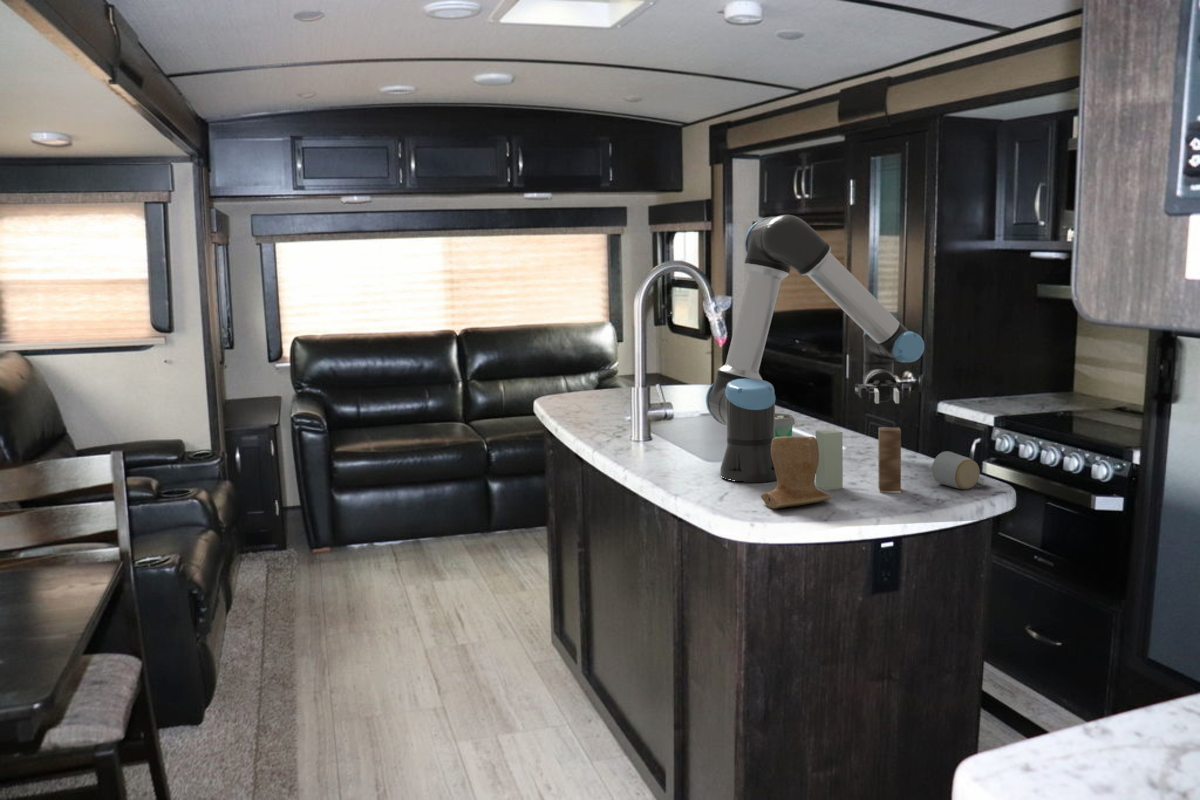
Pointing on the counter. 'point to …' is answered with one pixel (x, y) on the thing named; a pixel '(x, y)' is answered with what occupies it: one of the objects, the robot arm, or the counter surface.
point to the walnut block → (889, 459)
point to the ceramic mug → (956, 471)
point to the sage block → (830, 459)
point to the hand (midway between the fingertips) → (887, 397)
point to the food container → (783, 425)
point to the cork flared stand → (794, 472)
